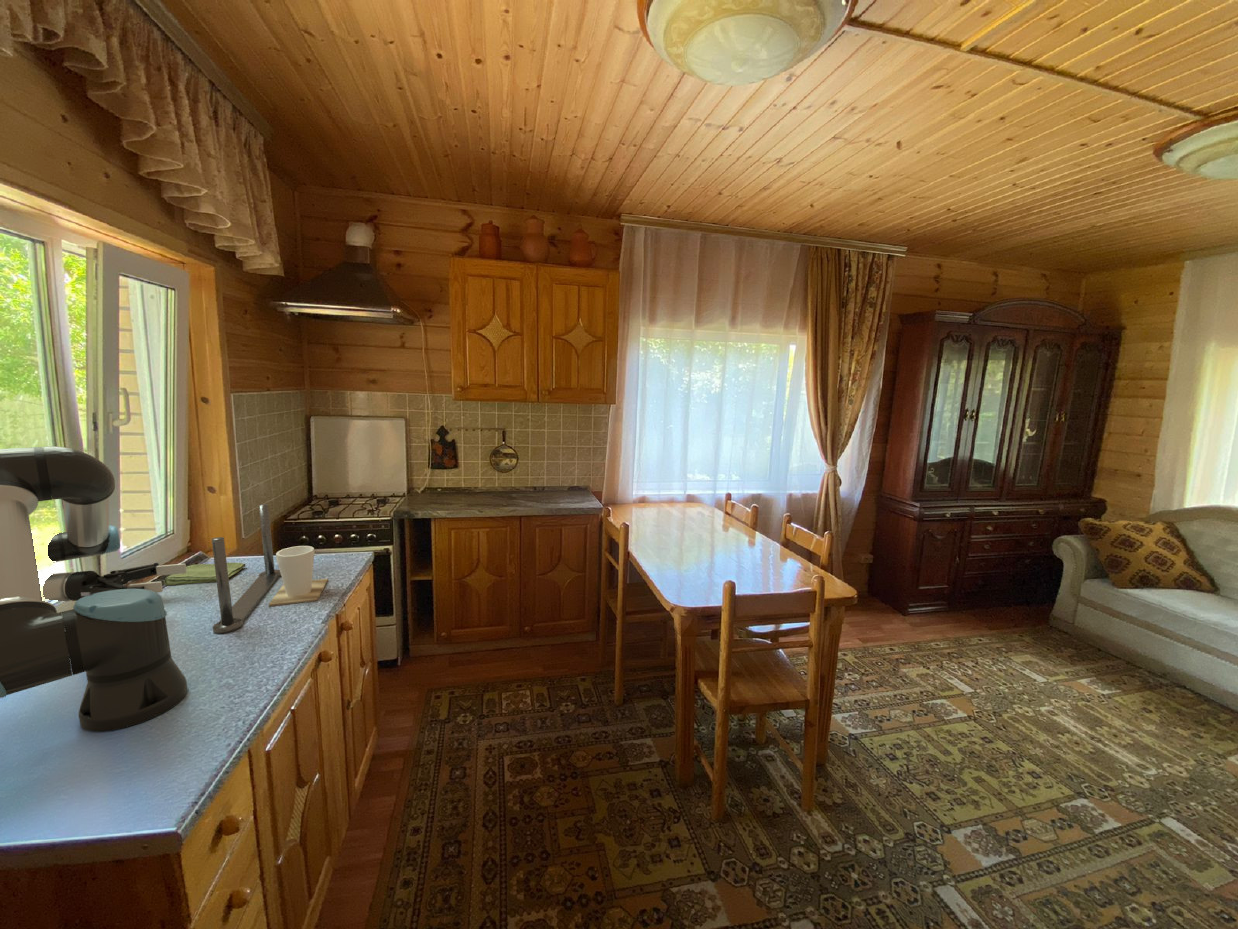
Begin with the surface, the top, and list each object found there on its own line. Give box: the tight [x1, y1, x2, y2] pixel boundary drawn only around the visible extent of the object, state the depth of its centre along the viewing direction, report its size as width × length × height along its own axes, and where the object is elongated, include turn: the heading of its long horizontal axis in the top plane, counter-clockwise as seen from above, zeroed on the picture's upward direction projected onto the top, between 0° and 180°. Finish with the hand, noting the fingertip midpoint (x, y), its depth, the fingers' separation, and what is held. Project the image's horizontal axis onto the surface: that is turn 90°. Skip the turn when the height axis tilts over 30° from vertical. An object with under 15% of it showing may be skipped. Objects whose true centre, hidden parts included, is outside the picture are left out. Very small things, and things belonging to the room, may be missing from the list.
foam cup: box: [275, 545, 315, 597], centre depth 146 cm, size 10×9×13 cm
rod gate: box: [211, 503, 282, 635], centre depth 141 cm, size 42×6×24 cm, turn 21°
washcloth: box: [163, 561, 246, 586], centre depth 159 cm, size 13×18×3 cm
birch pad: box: [268, 578, 329, 607], centre depth 148 cm, size 16×12×1 cm
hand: (174, 577), depth 136 cm, fingers open, 13 cm apart
